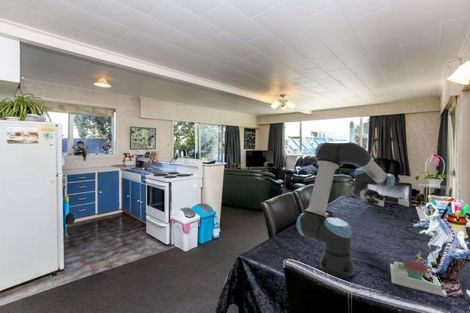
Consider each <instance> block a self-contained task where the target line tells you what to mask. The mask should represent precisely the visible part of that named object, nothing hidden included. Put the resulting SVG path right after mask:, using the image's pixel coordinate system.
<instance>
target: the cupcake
mask: <svg viewBox="0 0 470 313" xmlns="http://www.w3.org/2000/svg"><path fill="white" fill-rule="evenodd" d="M421 251H422V250H420V251H419V252H418V257H417V260H415V259H410V260H406V261H404V262H403V263H404V265H403V266H404V268H405V269H406V270H407V273H408V276H409V277H411V278H415V279H419V280H421V279H422V277H423V275H424V274H426V273H427V271H428V270H427V269H428V268H427V267H428V266H426V265H425V264H424V263H422V262H420V260H421V254H422V253H421Z"/></svg>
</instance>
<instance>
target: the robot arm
mask: <svg viewBox="0 0 470 313" xmlns="http://www.w3.org/2000/svg"><path fill="white" fill-rule="evenodd" d="M314 155H315V156H314V158H315V160H316V161H317V162H316V164H317V165H318V170H317V172H316V177H315V181H314V184H313V189H312V192H311V196H310V200H309V203H308V207H307V208H306V209H304V211H303V213H301V214H299V216H297V220H296V229H297V232H298V233H299V234H300V235H301V236H303V237H305V239H310V240H312V241H315V242H318V243H321V244H323V252H322V255H321V258H320V260H319V269H320V270H321V271H322V272H324V273H325V272H326V273H325V274H327V273H328V274H327V275H329V274H331V275H333V276H332V277H335V278H341V279H345V278H346V279H348V278H351V277H353V276H354V275H355V266H354V263H353V260H352V257H351V252H352V251H351V248H352V227H351V225H350V224H349V223H348V222H347V221H346V220H343V219H341V218H337V217H334V218H331V217H330V218H327V215H326V214H325V211H327V207H328V202H329V199H330V194H331V189H332V186H333V180H334V177H335V172H336V170H338V169H339V168H340V164H349V165H350V164H351V165H353V166H355V167H357V168H356V169H355V170H354V184H353V185H354V186H352V188H351V191H350V192H351V195H352V196H353V197H355V198H356V199H359V200H363V201H365V202H366V203H368V204H371V205H372V206H373V205H377V206H380V207H385V203H395V204H399V205H401V206H404V207H408V208H409V207H410V201H409V200H406V199H404V198H402V197H395V196H390V195H384V194H383V195H382V194H380V193H379V192H378V191H377V190H374V189H370V188H368V185H371V186H379V187H380V186H381V187H386V188H388V187H389V188H391V187H394V186H395V183H396V179H395V178H396V177H395V175H394V174H391V173H386V172H385V170H383V169H382V168H381V167H380V166H379V165H378V164H377V162H375V160H373V159H372V156H371V153H370V151H368V150H367V149H365V148H364V147H363V146H361V145H359V144H358V143H356V142H354V141H353V142H352V141H345V140H344V141H330V140H329V141H322V142H321V143H318V144H317V146H316V147H315V151H314ZM331 275H330V276H331Z"/></svg>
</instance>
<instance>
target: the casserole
mask: <svg viewBox="0 0 470 313" xmlns="http://www.w3.org/2000/svg"><path fill="white" fill-rule="evenodd" d="M325 214H326V215H327V218H330V217H331V218H336V217H335V216H336V215H335V214H334V212H332V211H329V210H326V211H325Z"/></svg>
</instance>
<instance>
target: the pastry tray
mask: <svg viewBox="0 0 470 313" xmlns="http://www.w3.org/2000/svg"><path fill="white" fill-rule="evenodd" d="M403 265H404V262H399V261H393V264H392V263H389V268H390V269H389V270H390V277H391V278H390V279H391V284H394V285H395V284H396V285H399V286H403V287H406V288H411V289H414V290H418V291H423V292H426V293H430V294H434V295H438V296H441V297H445V298H447V297H448V293H447V292H446V289H444V290H442V289H441V284H440V282H439V280H438V278H437V277H435V276H433V275H432V279H433V283H432V282H429V281H427V280H425V279H424V278H423V277H422V279H421V280H419V279H415V278H411V277H409V276H408V273H407V270H406V269H405V268H404V266H403ZM427 270H428V271H427V272H429V271H430V268H427Z"/></svg>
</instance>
